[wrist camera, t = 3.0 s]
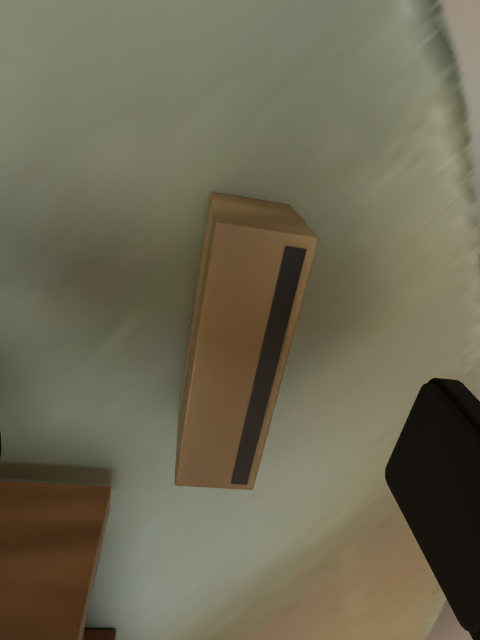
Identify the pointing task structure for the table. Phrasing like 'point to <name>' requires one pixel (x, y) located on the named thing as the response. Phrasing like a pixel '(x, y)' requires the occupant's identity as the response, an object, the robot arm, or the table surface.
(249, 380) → the tan block with strip
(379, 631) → the table surface
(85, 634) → the cabinet
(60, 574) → the drawer
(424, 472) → the robot arm
